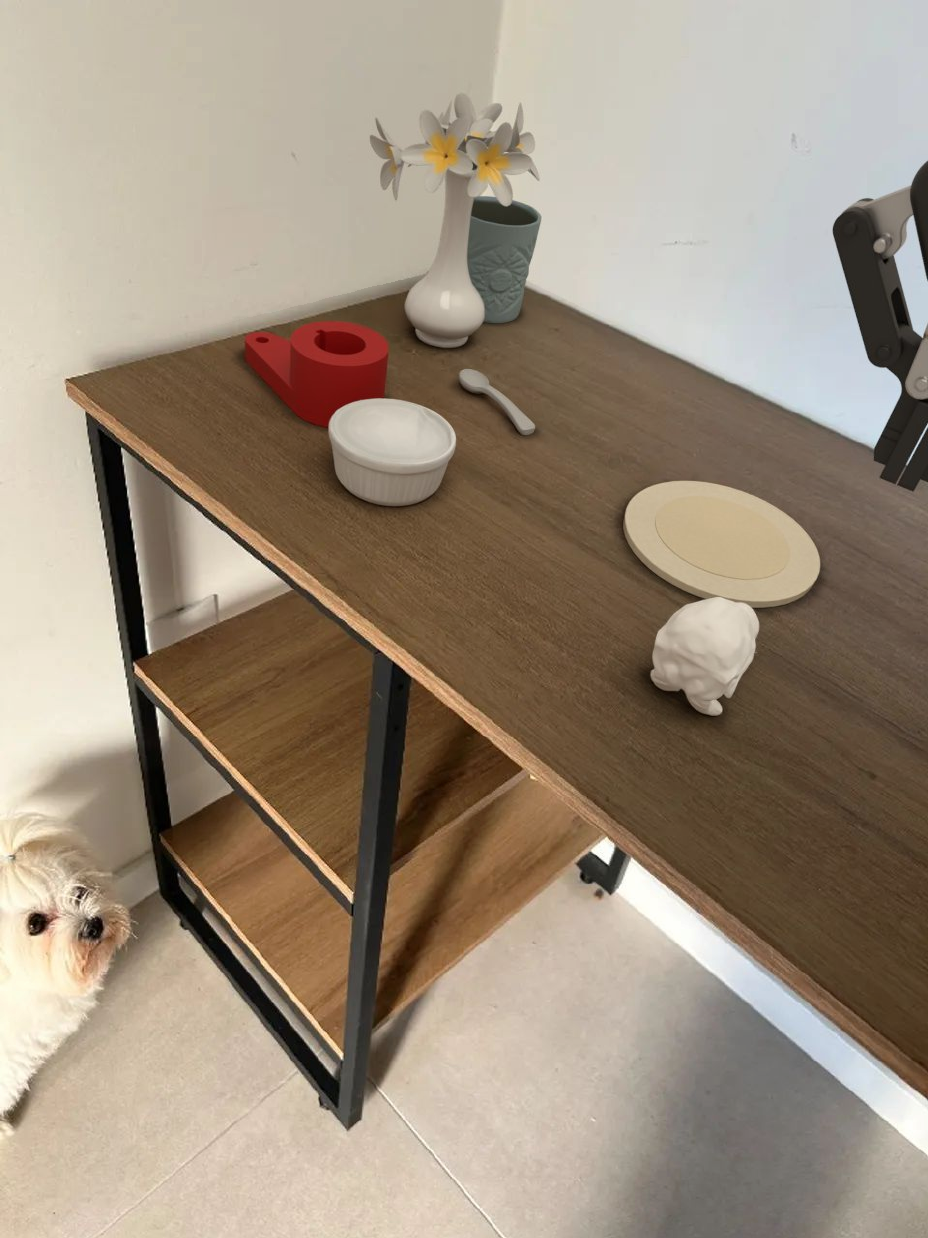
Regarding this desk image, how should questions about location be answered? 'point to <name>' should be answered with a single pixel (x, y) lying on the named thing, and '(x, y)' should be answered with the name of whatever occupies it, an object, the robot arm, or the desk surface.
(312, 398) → the lever
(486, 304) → the drinking glass
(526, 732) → the desk surface
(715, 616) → the white animal figurine
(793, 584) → the plate
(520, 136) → the flower vase
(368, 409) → the ramekin
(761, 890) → the desk surface
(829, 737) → the desk surface
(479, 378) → the spoon
